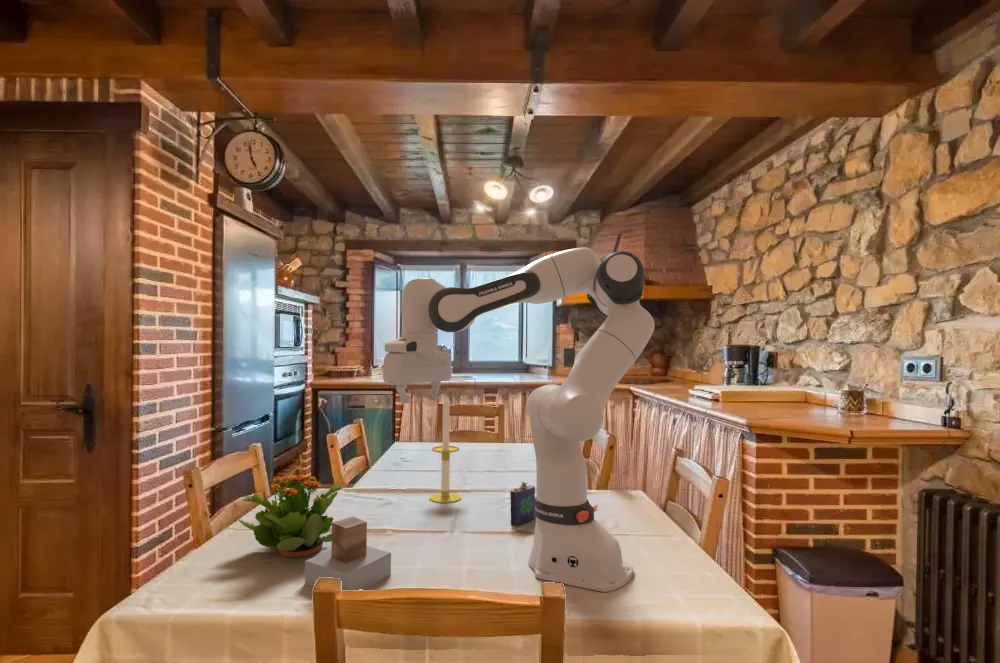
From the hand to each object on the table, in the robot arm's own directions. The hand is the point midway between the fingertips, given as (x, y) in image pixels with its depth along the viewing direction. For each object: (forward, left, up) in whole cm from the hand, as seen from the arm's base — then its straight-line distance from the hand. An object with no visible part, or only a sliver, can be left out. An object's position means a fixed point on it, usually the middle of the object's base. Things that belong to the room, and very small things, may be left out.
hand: (419, 401), depth 131 cm
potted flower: (+18, +20, -34) cm, 44 cm away
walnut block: (-3, +23, -30) cm, 37 cm away
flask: (-12, -28, -34) cm, 46 cm away
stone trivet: (-3, +23, -34) cm, 41 cm away
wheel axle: (+19, -31, -34) cm, 50 cm away
